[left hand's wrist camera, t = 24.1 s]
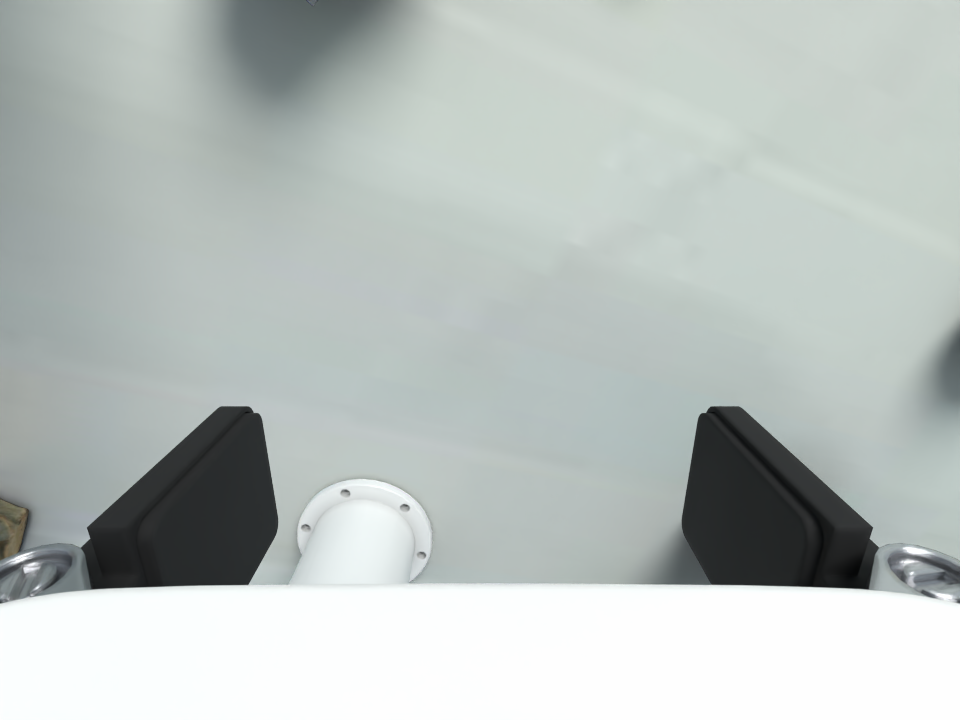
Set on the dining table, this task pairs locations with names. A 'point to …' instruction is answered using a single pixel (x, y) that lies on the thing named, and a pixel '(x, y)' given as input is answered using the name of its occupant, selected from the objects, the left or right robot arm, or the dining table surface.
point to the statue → (11, 528)
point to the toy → (312, 2)
